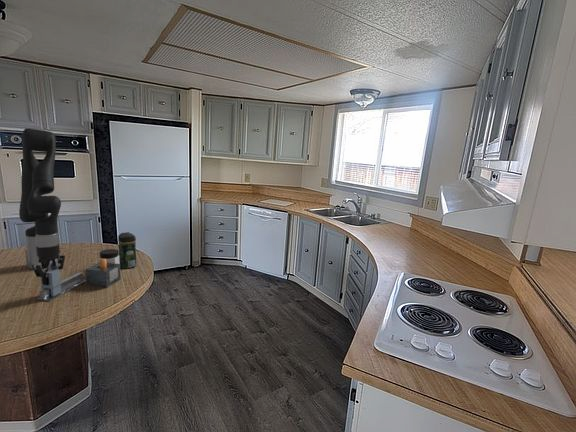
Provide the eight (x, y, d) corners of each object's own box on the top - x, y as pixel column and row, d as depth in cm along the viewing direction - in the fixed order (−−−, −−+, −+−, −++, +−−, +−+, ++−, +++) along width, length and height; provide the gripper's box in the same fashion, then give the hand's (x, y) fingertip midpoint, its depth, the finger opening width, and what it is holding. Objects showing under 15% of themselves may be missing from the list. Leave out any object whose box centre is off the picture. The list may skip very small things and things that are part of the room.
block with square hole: (86, 285, 138) (85, 269, 137) (101, 277, 148) (100, 262, 146) (107, 287, 138) (106, 271, 136) (120, 279, 147) (120, 264, 146)
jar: (99, 278, 147) (98, 254, 145) (99, 272, 154) (98, 250, 151) (120, 275, 152) (119, 252, 150) (119, 269, 159) (118, 248, 156)
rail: (36, 299, 123) (35, 290, 122) (75, 279, 143) (75, 271, 142) (49, 301, 122) (48, 292, 121) (87, 281, 143) (86, 273, 142)
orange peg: (98, 276, 141) (98, 260, 139) (102, 274, 144) (102, 258, 142) (104, 276, 141) (103, 260, 139) (108, 274, 143) (107, 258, 142)
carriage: (42, 295, 125) (40, 271, 123) (50, 290, 129) (48, 268, 127) (53, 296, 125) (51, 273, 123) (61, 292, 128) (59, 269, 127)
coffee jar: (117, 264, 165) (116, 232, 162) (133, 262, 171) (132, 230, 167) (122, 270, 158) (121, 236, 155) (138, 267, 164) (137, 234, 160)
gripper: (53, 238, 130) (56, 275, 133) (22, 247, 116) (27, 288, 119) (70, 240, 129) (72, 277, 132) (41, 249, 115) (44, 290, 119)
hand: (51, 282), depth 126 cm, fingers closed on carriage, 4 cm apart
